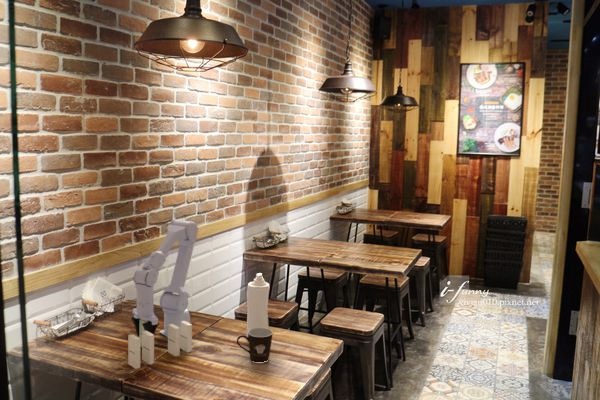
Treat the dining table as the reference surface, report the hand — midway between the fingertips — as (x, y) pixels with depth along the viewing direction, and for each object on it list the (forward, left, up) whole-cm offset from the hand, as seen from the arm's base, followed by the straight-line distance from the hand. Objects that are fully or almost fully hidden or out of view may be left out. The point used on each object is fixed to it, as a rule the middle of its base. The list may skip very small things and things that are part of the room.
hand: (144, 338), depth 185 cm
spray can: (-37, +19, -4) cm, 42 cm away
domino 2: (0, 0, -3) cm, 3 cm away
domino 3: (+5, +11, -3) cm, 13 cm away
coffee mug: (-24, +33, -4) cm, 41 cm away
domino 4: (-5, +11, -3) cm, 13 cm away
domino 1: (+10, +11, -3) cm, 15 cm away
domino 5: (-10, +11, -3) cm, 15 cm away
